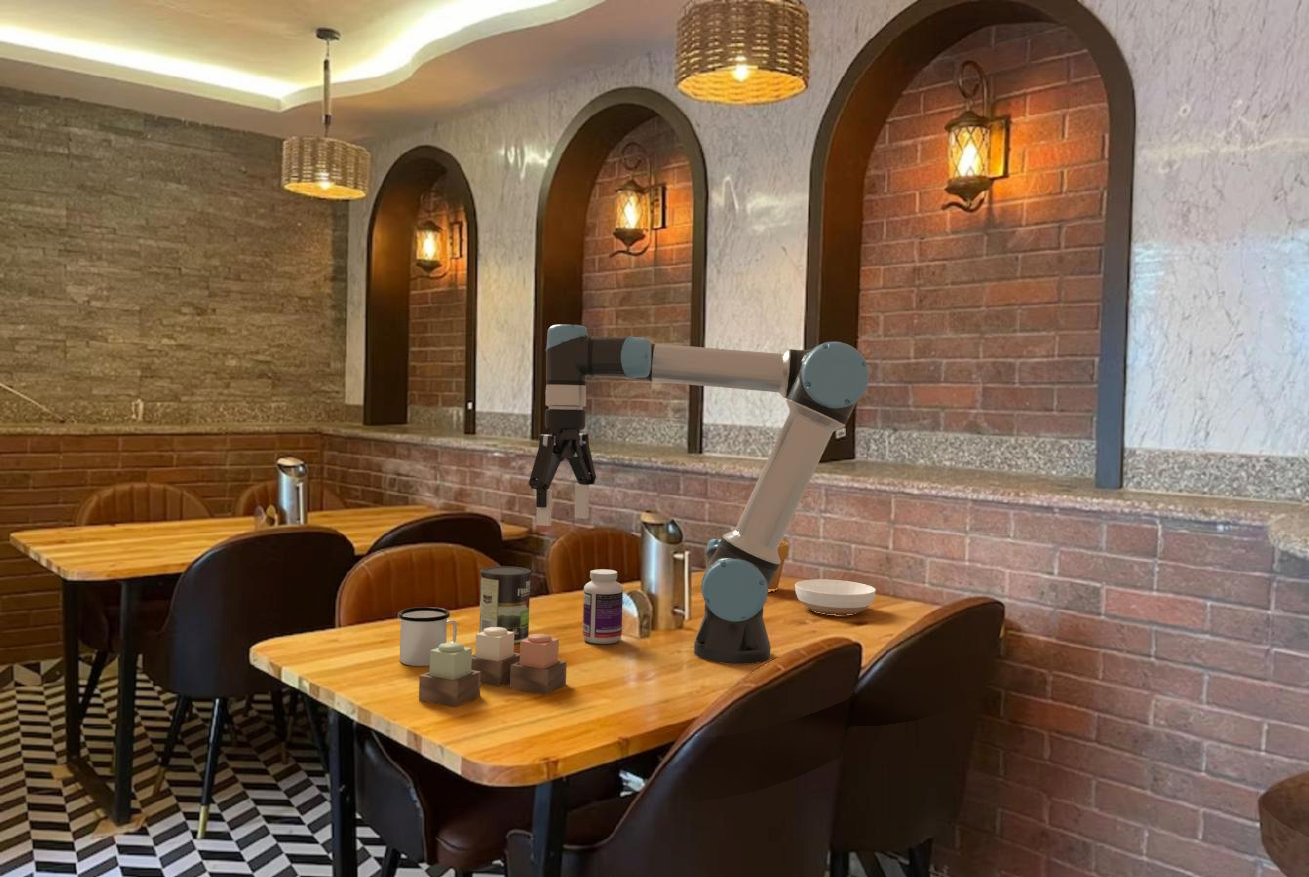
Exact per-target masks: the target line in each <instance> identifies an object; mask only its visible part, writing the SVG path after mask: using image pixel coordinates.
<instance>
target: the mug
mask: <svg viewBox="0 0 1309 877" xmlns="http://www.w3.org/2000/svg"><path fill="white" fill-rule="evenodd" d="M450 616H451V612H450V611H449V610H448V609H446V608H442V607H432V606H431V607H429V606H423V607H422V606H420V607H410V608H406V609H405V608H404V609H402V610H400V611H398V612H397V618H398V619H399V620H400V635H399V638H400V639H399V662H400V663H402V664H404V665H406V666H411V667H430V650H433V649H436V648H439V645H440V644H443V643H447V635H448V634H447V633H448V632H447V628H448V626H447V624H450V623H452V624H453V632H452V640H451V641H450V642H449V643H457V642H456V640H457V633H458V628H457V627H458V622H457V621H456V620H454V619H449V618H450Z"/></svg>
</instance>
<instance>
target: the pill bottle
mask: <svg viewBox="0 0 1309 877" xmlns="http://www.w3.org/2000/svg"><path fill="white" fill-rule="evenodd" d="M589 572H590V573H589V578H590V579H591V580H590V581H589V582H587V583H585V585H584V586H583V606H582V607H583V610H582V611H583V614H582V617H583V618H582V638H583V640H584V641H585V642H587V643H590V644H593V645H594V644H595V645H612V644H615V643H618V642H619V641H620V640H621V639H622V636H623V634H622V633H623V630H622V629H623V595H624V588H623V586H622V584H621V583H620V582H618V581H617V580H618V571H616V570H614V569H603V568H602V569H601V568H600V569H593V570H590V571H589Z"/></svg>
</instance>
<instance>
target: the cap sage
mask: <svg viewBox="0 0 1309 877" xmlns="http://www.w3.org/2000/svg"><path fill="white" fill-rule="evenodd" d="M472 653H473V648H472V647H468V646H467V647H466V646H465V645H464V644H463V643H459V642H455V643H450V642H446V643H443V644H440V645H439V648H436V649H433V650H430V666H429V671H428V672H429V676H433V677H439V678H444V679H450V680H457V679H459V678H461V677H464V676H466V675H469V674H471V664H472V655H473V654H472Z"/></svg>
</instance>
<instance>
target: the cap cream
mask: <svg viewBox="0 0 1309 877" xmlns="http://www.w3.org/2000/svg"><path fill="white" fill-rule="evenodd" d="M474 652H475V653H474V654H475V658H480V659H486V660H492V661H498V662H500V661H502V660H505V659H507V658H509V657H512V656H514V653H515V644H514V632H510V631H507V629H505V628H501V627H490V628H485V629H484V632H481V633H479V632H478V633H475V651H474Z"/></svg>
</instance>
